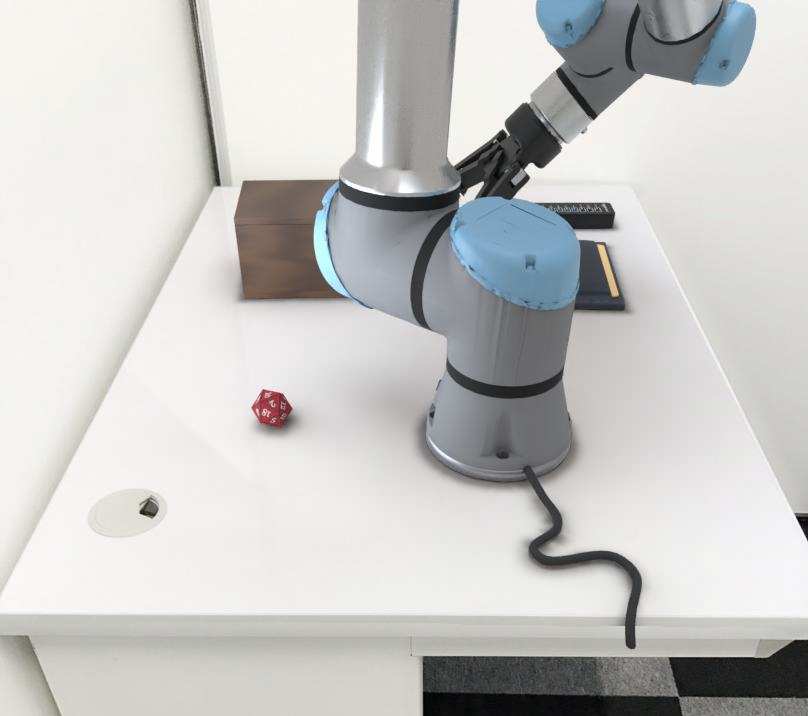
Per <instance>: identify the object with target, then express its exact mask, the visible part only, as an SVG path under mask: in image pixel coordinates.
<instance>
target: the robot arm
mask: <svg viewBox="0 0 808 716" xmlns="http://www.w3.org/2000/svg"><path fill="white" fill-rule="evenodd" d="M460 1H461V0H357V22H356V23H357V31H356V43H357V44H356V83H355V84H356V86H355V87H356V89H355V90H356V93H355V148H354V149H355V150H354V153H353V154H352V155H351V156H350V157H349V158H348V159H347V160H346V161H345V162H344V163H343V164H342V165H341V166H340V168H339V171H338V179H339V181H338V182H336V183H335V184H334V185H333V186H332V187H331V188H330V189H329V190H328V191H327V193H326V194H325V196H324V198H323V200H322V204H323V206H324V207H323V210H319V211H318V212H317V215H316V220H315V226H314V249H315V255H316V259H317V262H318V265H319V268H320V270H321V272H322V274H323V276H324V278H325V279H326V281H327V282H328V283H329V284H330V285H331V286H332V287H333V288H334V289H335V290H336V291H337V292H339V293H340V294H342V295H344V296H346V297H345V298H348V299H350V300H352V301H354V302H355V303H357V305H359V306H361V307H364V308H367V309H370V310H375V311H378V312H382V313H383V314H387V315H389V316H391V317H394V318H397V319H399V320H402V321H404V322H407V323H409V324H412V325H414V326H417V327H419V328H422V329H425V330H427V331H430V332H433V333H436V334H438V335H440V336H442V337H444V338H445V339H446V362H445V371H444V373H443V375H442V378H441V379H439V380H438V383H437V385H436V388H435V391H436V392H435V394H434V397H433V399H432V402H431V404H430V407H429V409H428V411H427V415H426V421H425V441H426V444H427V447H428V448H429V450H430V452H431V453H432V454H433V456H434V457H435V458H436V459H437V460H438V461H440V462H441V463H442V464H444V465H445V466H446V467H448V468H450V469H451V470H454V471H456V472H458V473H460V474H463V475H465V476H469V477H471V478H475V479H480V480H486V481H493V482H514V481H515V482H516V481H523V480H528V482H529V483H530V486H531V487H532V489H533V491H534V493H535V494H536V496H537V497H538V499H539V501H540V502H541V504H542V505H543V506H544V508H545V509H546V510H547V511H548V513H549V514H550V516H551V518H552V521H553V525H552V527H551V528H549V530H547V531H546V532H544V533H542V534H540V535H539V536H537V537H536V538H534V539H532V540H531V541H530V543H529V545H528V553H529V554H530V556H531V558H532V559H534V560H535V561H536V562H537V563H540V564H542V565H544V566H550V567H556V566H557V567H560V566H567V565H569V566H570V565H575V564H579V563H584V562H585V563H586V562H592V561H609V562H613V563H615V564H617V565H618V566H620V567H621V568H622V569H623V570H625V571H626V572H627V573H628V574H629V576H630V578H631V591H630V594H629V598H628V602H627V606H626V612H625V618H624V620H625V621H624V641H625V643H624V644H625V647H626V648H627V649H629V650H635V649H636V647H637V641H636V619H637V612H638V607H639V603H640V600H641V599H640V598H641V593H642V589H643V578H642V575H641V573H640V571H639V570H638V568H637V566H636V565H634V563H633V562H632V561H631V560H630V559H628V558H627V557H625V556H624V555H622V554H620V553H618V552H614V551H611V550H590V551H583V552H578V553H573V554H567V555H566V554H565V555H560V556H559V555H558V556H557V555H556V556H552V555H547V554H544V553H542V552H541V551H540V550H539V548H540V547H541V546H543V545H545V544H546V543H548V542H550V541H551V540H553V539H554V538H556V537H557V536H558V535H559V534H560V532H561V531H562V529H563V525H564V523H563V516H562V513H561V512H560V510H559V509H558V508H557V506H556V505H555V503H554V502H553V501H552V500H551V499H550V497H549V495H547V493H546V491H545V489H544V487H543V486H542V483H541V482H540V481H539V479H538V477H539V476H542V475H544V474H546V473H548V472H550V471H552V470H554V469H555V468H557V467H558V466H559V465H560V464H561V463H562V462H563V461H564V460H565V459H566V457H567V455H568V454H569V451H570V448H571V442H572V438H573V437H572V436H573V426H572V425H573V424H572V423H573V422H572V418H571V414H570V412H569V409H568V402H567V397H566V392H565V385H564V380H563V378H564V370H565V365H566V359H567V353H568V349H569V348H568V347H569V340H570V336H571V335H570V334H571V328H572V323H573V318H574V317H573V316H574V311H575V309H574V305H575V299H576V294H577V293H578V288H579V282H580V280H579V267H580V243H579V241H578V240H579V238H578V237H577V234H576V232H575V230H574V228H572V227H571V226H570V225H569V223H568V222H567V221H566V220H564V219H563V218H562V217H561V216H559V215H558V214H556V213H555V212H553V211H551V210H549V209H547V208H545V207H543V206H541V205H538V204H535V203H536V202H533V201H530V200H526V199H522V198H516V197H515V196H516V195H517V193H518V192H520V190H521V189H522V188H524V187H525V185H527V184H528V183H529V181H530V179H531V176H530V175H529V173H527V171H526V169H527V167H528V166H529V165H530V164H533V165H534V166H535V167H536V168H538V169H541V170H542V169H544V168H545V167H547V165H549V164H550V163H551V162H552V161H553V160H554V159H555V158H556V157H557V156H558V155H559V154H560V153H562V149H563V146H562V144H563V143H564V144H566V145H569V144H571V143H572V142H573V141H574V140H575V139H576V138H577V137H579V135H580V134H582V135H584V134H586V133H588V127H589V126H590V125H591V124H592V123H593V122H594V121H595V120H596V119H597V118H598V117H599V116H600V115H601V114H602V113H603V112H605V110H607V109H608V108H609V107H610V106H611V105H612V104H613V103H615V101H617V100H618V99H619V98H620V97H621V96H622V95H623V94H625V93H626V91H627V90H629V89H630V88H631V87H632V86H633V85H634V84H635V83H636V82H637V81H639V80H641V79H642V78H643V77H644V76H645V75H649V76H654V77H659V78H664V79H669V80H672V81H673V80H674V81H678V82H683V83H688V84H691V85H693V86H696V85H702V86H710V87H718V88H723V87H727V86H728V85H730V84H731V83H733V82H734V81H735V80H736V79H737V78H738V77H739V75H740V74H741V72H742V70H743V69H744V67H745V64H746V63H747V60H748V58H749V57H750V53H751V50H752V48H753V44H754V40H755V36H756V30H757V14H756V10H755V7H753V6H751V4H749V3H746V2H742V1H738V0H535V1H536V2H535V17H536V21H537V24H538V26H539V28H540V29H541V31H542V32H543V34H544V37H545V39H546V41H547V43H549V46H552V47H553V49H554V50H555V51H556V52H557V54H558V55H559V56H560V57H561V58H562V59H563V62H562V63H561V64H560V66H559V67H557V68H556V70H554V71H552V73H550V74H549V76H547V78H545V79H543V81H542V82H541V83H540V84H539V85H538V86H537V87H536V88H535V89H534V90H533V91H532V92H531V93H530V94H529V99H530V101H529V103H528V102H526V101H525V102H522V103H521V104H520V105H519V106H518V107H517V108H516V109H515V110H514V111H513V112H512V113H511V114H510V115H509V116H508V117H507V118H506V119H505V121H504V127H505V129H504V128H502V129H500V130H499V131H498V132H496V134H495V135H494V136H493V137H492V138H491V139H489V140H488V141H487V142H485V143H484V144H482V145H481V146H479V147H478V148H477V149H476V150H474V151H472V152H471V153H469V154H468V155H467V156H466V157H464V158H463V159H461V160H460V161H459V162H457V163H456V164H454V165H453V164H452V163H451V162H450V159H449V157H448V149H449V147H448V146H449V135H450V123H451V111H452V99H453V98H452V97H453V85H454V75H455V74H454V73H455V63H456V61H455V60H456V49H457V38H458V37H457V36H458V25H459V11H460ZM505 130H506V131H505ZM482 182H483V184H482ZM478 184H482V186H481V188H480V189H479V191H478V192H477V194H476V196H475V197H474V198H473V199H472V200H468V201H467V202H466V203H464V204H462V205H461V206H460V198H461V197H465V195H466V193H468V190H469V189H470V188H473V187H475V186H476V185H478Z"/></svg>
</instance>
